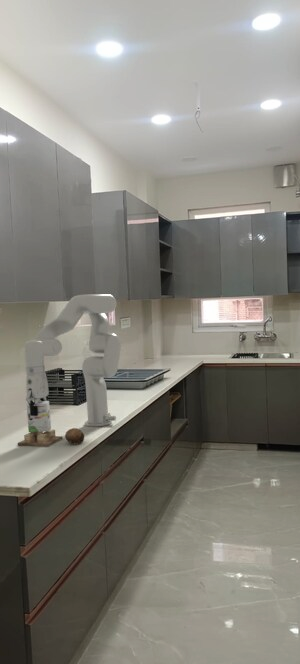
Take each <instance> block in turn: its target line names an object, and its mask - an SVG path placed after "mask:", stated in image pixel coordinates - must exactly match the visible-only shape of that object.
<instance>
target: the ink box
mask: <svg viewBox="0 0 300 664" xmlns="http://www.w3.org/2000/svg"><path fill="white" fill-rule="evenodd" d="M36 406H37V409H38V416H31V415H30V406H29V404H28V403H26V414H27V415H26V416H27V426H28V433H30V432H43V433H44V432H46V431H49V430H52V422H51V409H50V401H49V400H47V401H39V400H37V403H36Z"/></svg>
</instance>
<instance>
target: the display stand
mask: <svg viewBox="0 0 300 664" xmlns="http://www.w3.org/2000/svg"><path fill="white" fill-rule="evenodd" d="M23 437H24V439H22V440H20V441H18V442H17V446H19V447H20V446H22V447H43V448H44V447H47V448H48V447H50V446H52V445H54V444H56V443H57V442H59V441H61V440H63V436H60V435H59V436H58V435H56V430H55V429H50V430H49V431H43V432H28V433H26V434H24V435H23Z"/></svg>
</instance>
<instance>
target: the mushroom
mask: <svg viewBox="0 0 300 664" xmlns="http://www.w3.org/2000/svg"><path fill="white" fill-rule="evenodd" d="M64 437H65V440H66V441H67V442H68V443H70V444H72V445H79V444H82V443H83V442H84V441H85V435H84V432H83V431H82V430H81V429H79V428H76V427H73V428H70V429H68V430H67V431H66V432H65V435H64Z"/></svg>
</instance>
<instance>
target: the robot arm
mask: <svg viewBox="0 0 300 664" xmlns="http://www.w3.org/2000/svg"><path fill="white" fill-rule="evenodd" d="M116 308H117V300H116V298H115V297H114V296H113V295H112V294H109V293H108V294H107V293H105V294H93V293H92V294H91V293H90V294H88V293H87V294H78V295H75V296H72V297H70V299H69V301H68V302H67V303H66V305H65V306H64V308H63V309H62V311H60V313H59V315H58V316H57V317H56V318H54V319H53V320H52V321H50V322H49V323H48V324H46V325H45V326H44V327H42V328H41V329H40V330H39V331H38V332H37V333H36V335H35V336H34V338H33V339H32V340H27V341H25V342H24V345H23V346H24V347H23V349H24V358H25V359H24V360H25V361H24V363H25V374H26V379H25V380H26V381H25V382H26V384H25V386H26V390H25V391H26V396H25V401H26V402H27V404H29V406H30V415H31V416H38V409H37V406H36V403H37V401H48V396H49V393H50V391H49V383H48V378H47V377H48V376H47V373H46V370H45V368H46V367H45V357H55V356H58V355H59V354H60V353H61V352H62V349H63V345H62V343H61V341H60V340H59V339H57V337H59V336H61V335H64V334H66V333H69V332H70V331H72V330H74V329H75V327H76V325H77V324H78V323H79V321H80V320H81V318H82V317H83V316H84V315H86V314H88V316H89V318H90V321H91V325H90V326H91V327H90V335H89V342H88V348H89V351H90V352H91V353H93V354H96V356H95V355H93V356H88V357H86V358H85V359H84V360H83V361H82V366H81V368H82V369H81V370H82V374H83V379H84V383H85V394H86V396H85V397H86V409H87V410H86V411H87V412H86V413H87V420H86V421H85V422H84V426H86V427H91V428H92V427H93V428H95V427H96V428H97V427H104V426H108V425H111V424H112V422H113V421H114V422H116V421H117V417H116V415H111V412H109V408H108V407H109V405H108V394H107V393H108V391H107V383H106V380H105V379H104V378H113V377H114V376H115V375H117V372H118V369H119V363H120V358H121V357H120V356H121V351H122V349H121V348H122V343H121V342H122V341H121V339H120V337H119V336H118V335H117V334H115V333H111V332H110V320H109V318H108V316H107V314H108V313H109V314H110V313H112V312H113V313H114V311H115V309H116ZM97 354H98V355H97ZM101 355H103V356H101Z"/></svg>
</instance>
